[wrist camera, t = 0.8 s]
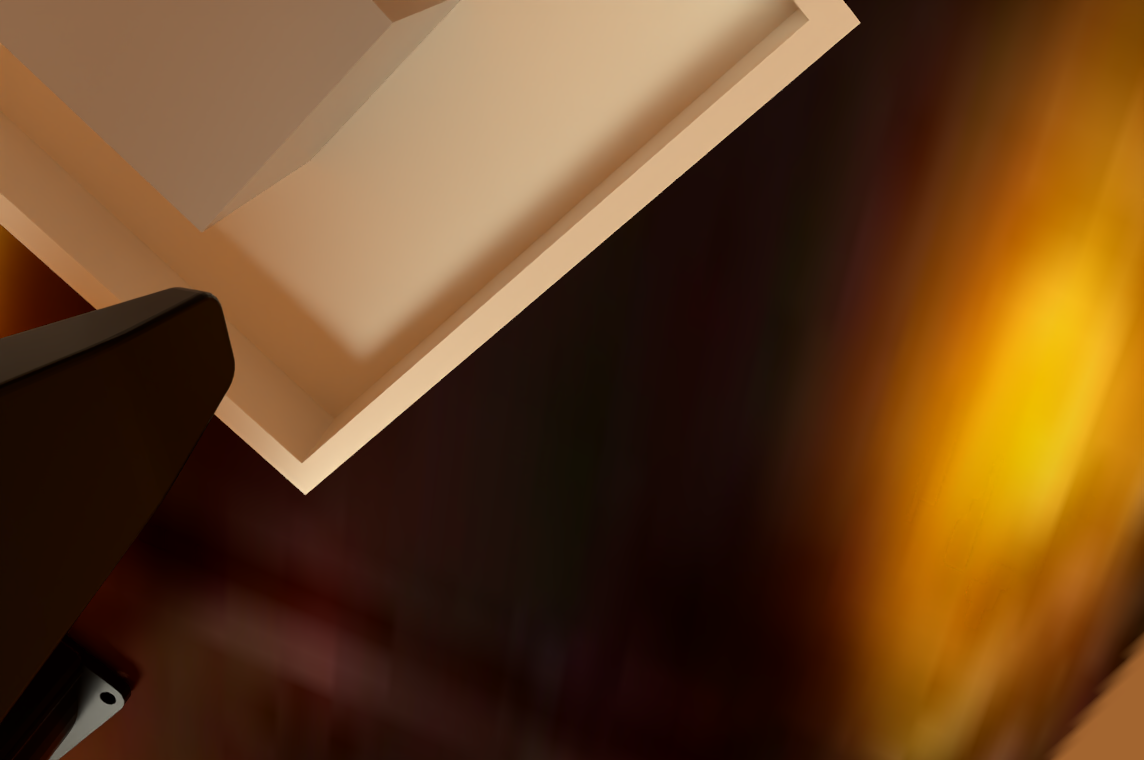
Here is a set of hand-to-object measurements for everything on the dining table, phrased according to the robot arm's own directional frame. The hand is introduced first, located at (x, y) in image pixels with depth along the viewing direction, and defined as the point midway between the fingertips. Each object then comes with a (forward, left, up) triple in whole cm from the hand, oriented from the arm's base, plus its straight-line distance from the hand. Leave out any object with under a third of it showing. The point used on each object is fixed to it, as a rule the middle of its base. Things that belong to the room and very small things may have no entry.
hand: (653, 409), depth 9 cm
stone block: (-4, +7, -12) cm, 15 cm away
